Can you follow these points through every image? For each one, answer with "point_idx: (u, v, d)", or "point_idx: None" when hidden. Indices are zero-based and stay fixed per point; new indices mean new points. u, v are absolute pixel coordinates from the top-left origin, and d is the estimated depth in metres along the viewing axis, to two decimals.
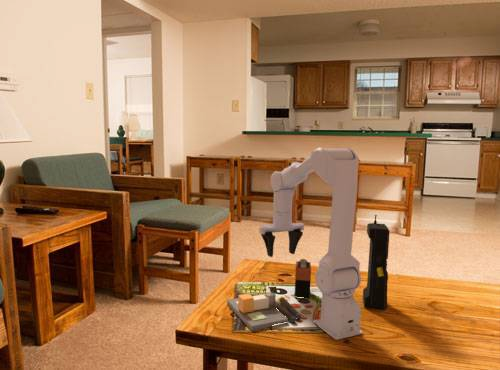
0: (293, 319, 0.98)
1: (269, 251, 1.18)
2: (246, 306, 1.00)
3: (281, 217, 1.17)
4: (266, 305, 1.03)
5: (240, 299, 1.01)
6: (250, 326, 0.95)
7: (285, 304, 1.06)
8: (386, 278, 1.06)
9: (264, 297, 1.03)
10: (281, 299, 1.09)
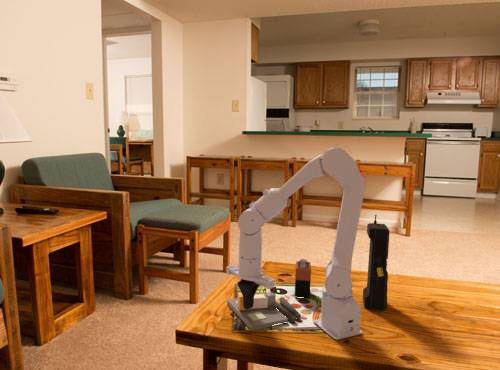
0: (293, 319, 0.98)
1: None
2: None
3: None
4: (265, 305, 1.03)
5: (238, 296, 1.03)
6: (250, 326, 0.95)
7: (285, 304, 1.06)
8: (386, 278, 1.06)
9: (263, 296, 1.03)
10: (281, 299, 1.09)
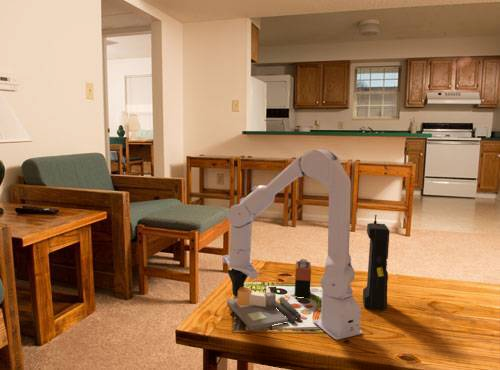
0: (293, 319, 0.98)
1: None
2: (240, 298, 1.05)
3: (229, 251, 1.06)
4: (262, 303, 1.04)
5: None
6: (250, 326, 0.95)
7: (285, 304, 1.06)
8: (386, 278, 1.06)
9: (262, 295, 1.04)
10: (281, 299, 1.09)
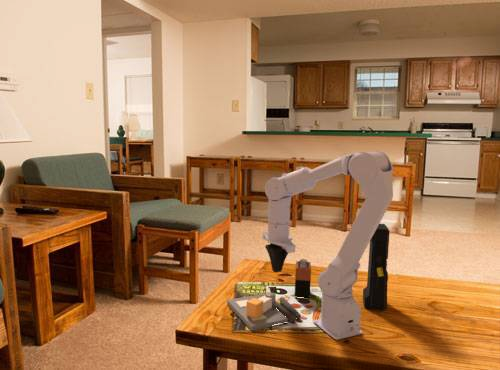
0: (293, 319, 0.98)
1: None
2: (258, 311, 0.98)
3: None
4: (270, 305, 1.03)
5: (251, 305, 0.98)
6: (250, 326, 0.95)
7: (285, 304, 1.06)
8: (386, 278, 1.06)
9: (268, 298, 1.03)
10: (281, 299, 1.09)
